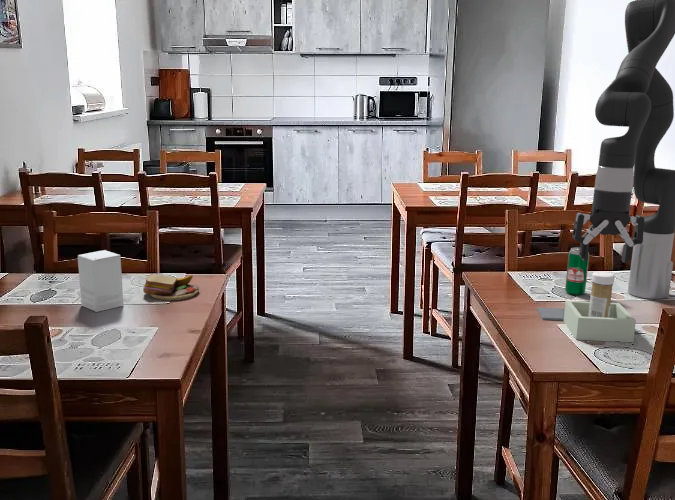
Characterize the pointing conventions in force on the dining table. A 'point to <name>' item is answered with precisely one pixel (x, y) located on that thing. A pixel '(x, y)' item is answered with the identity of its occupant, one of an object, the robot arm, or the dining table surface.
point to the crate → (599, 323)
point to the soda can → (576, 273)
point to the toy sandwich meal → (169, 287)
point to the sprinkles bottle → (601, 294)
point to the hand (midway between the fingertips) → (604, 261)
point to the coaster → (551, 313)
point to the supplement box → (100, 280)
